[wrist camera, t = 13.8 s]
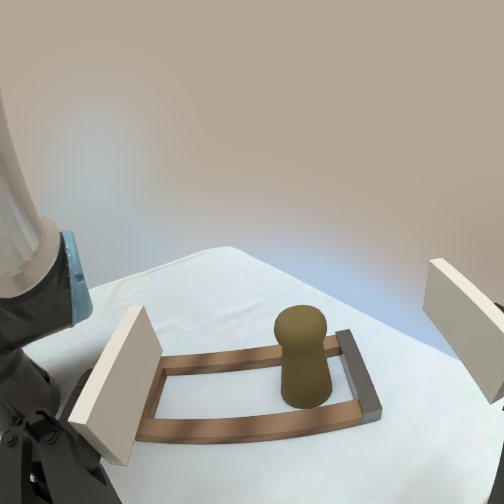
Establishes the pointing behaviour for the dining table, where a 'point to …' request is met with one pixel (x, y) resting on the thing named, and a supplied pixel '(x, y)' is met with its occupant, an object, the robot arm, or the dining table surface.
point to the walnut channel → (242, 426)
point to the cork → (303, 356)
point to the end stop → (358, 377)
